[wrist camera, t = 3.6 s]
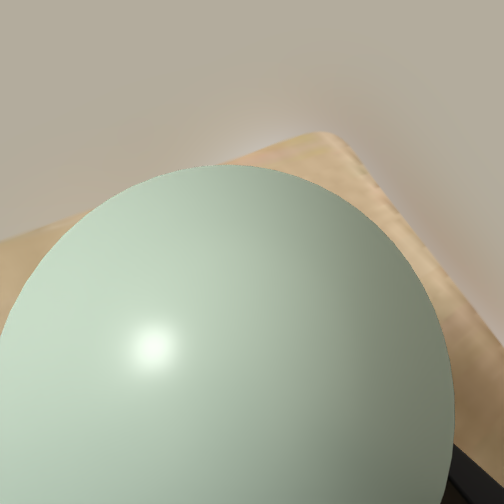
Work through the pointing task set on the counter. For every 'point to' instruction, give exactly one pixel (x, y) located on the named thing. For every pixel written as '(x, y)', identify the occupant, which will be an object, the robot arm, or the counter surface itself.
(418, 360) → the mint green canister
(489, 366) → the counter surface
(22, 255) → the counter surface
